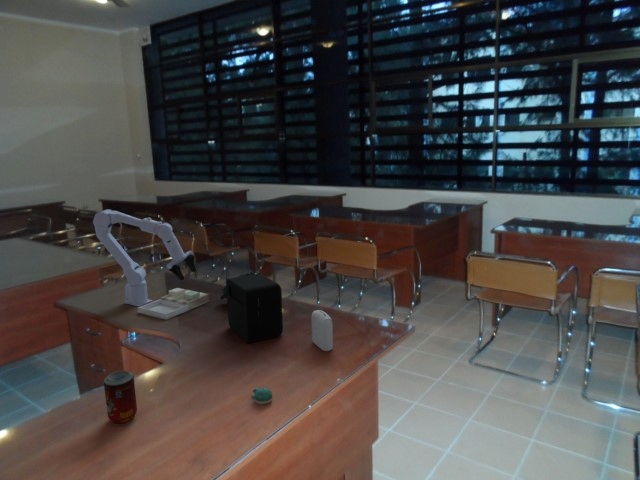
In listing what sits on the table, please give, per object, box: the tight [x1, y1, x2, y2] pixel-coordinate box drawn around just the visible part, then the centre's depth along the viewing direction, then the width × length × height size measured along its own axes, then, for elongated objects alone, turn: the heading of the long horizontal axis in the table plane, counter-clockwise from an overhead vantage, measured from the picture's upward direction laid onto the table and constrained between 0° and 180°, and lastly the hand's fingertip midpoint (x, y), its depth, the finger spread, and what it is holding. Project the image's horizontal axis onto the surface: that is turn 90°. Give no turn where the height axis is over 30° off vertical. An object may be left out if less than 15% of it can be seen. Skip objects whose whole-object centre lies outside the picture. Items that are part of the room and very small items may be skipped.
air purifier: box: [225, 272, 284, 344], centre depth 174 cm, size 20×15×20 cm
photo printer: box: [311, 309, 334, 352], centre depth 161 cm, size 10×4×12 cm, turn 26°
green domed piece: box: [251, 387, 273, 405], centre depth 129 cm, size 6×7×4 cm
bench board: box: [160, 289, 210, 311], centre depth 208 cm, size 16×13×4 cm
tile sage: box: [183, 290, 200, 300], centre depth 205 cm, size 5×5×2 cm
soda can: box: [103, 370, 138, 426], centre depth 120 cm, size 7×7×12 cm
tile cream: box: [168, 287, 186, 297], centre depth 209 cm, size 5×5×2 cm
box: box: [137, 298, 190, 321], centre depth 198 cm, size 17×12×2 cm
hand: (188, 275), depth 210 cm, fingers open, 7 cm apart
